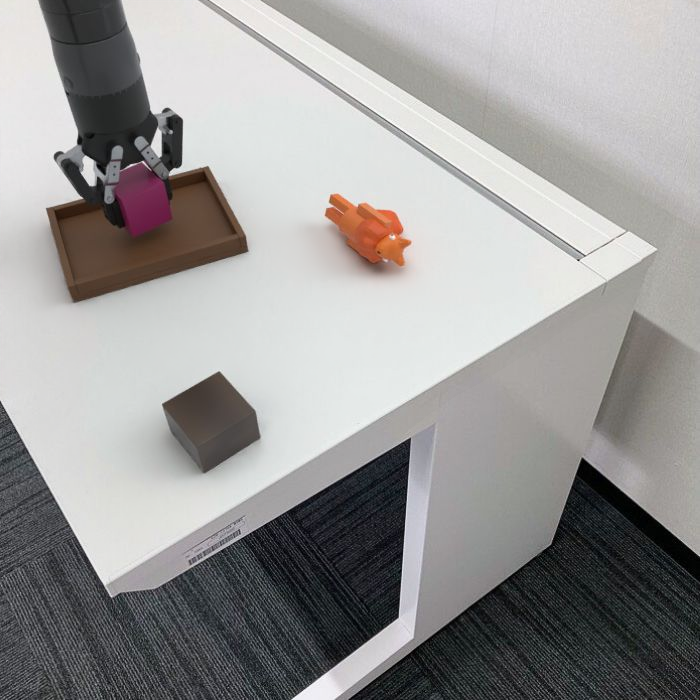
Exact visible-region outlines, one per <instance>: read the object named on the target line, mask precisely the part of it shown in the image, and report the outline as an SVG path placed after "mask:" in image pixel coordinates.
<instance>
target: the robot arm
mask: <svg viewBox="0 0 700 700" xmlns="http://www.w3.org/2000/svg"><path fill="white" fill-rule="evenodd" d="M37 2H38V4H39V8H40V11H41V14H42V17H43V21H44V24H45V27H46V29H47V32H48V36H49V40H50V45H51V50H52V56H53V60H54V63H55V66H56V70H57V72H58V76H59V78H60V81H61V84H62V87H63V90H64V94H65V97H66V99H67V102H68V105H69V108H70V112H71V115H72V118H73V121H74V125H75V126H76V127H75V128H76V129H77V138H76V145H74V146H73V147H72V148H70V149H69V150H67V151H66V152H64V151H61V150H58V151H56V152H55V153H54V154H53V160H54V161H55V163H56V164H57V166H58V167H59V169H60V170H61V172H62V173H63V174H64V176H65V177H66V179H67V180H68V182H69V183H70V185H71V186H72V187H73V189H74V190H75V191H76V194H77V195H79V197H81V199H84V200H85V201H86V203H87V204H88V205H90V206H94V205H96V204H97V203H99V202H100V203H101V206H102V209H103V212H104V215H105V218H106V219H107V220H108V221H109V222H110V223H111V224H112V225H113V226H115V225H116V226H117V227H118V228H119V229H120V228H123V227H125V222H124V219H123V216H122V213H121V209H120V206H119V203H118V200H117V199H116V198H115V193H116V184H118V183H119V175H120V171H122V170H124V169H127V168H129V167H130V166H132V165H136V164H138V163H141V162H142V163H144V165H145V166H147V167H148V168H149V169H150V170H151V171H152V172H153V173H154V174H155V175H156V176H157V177H158V178H159V179H161V180H162V181H163V182H164V185H165V189H166V193H167V197H168V201H169V205H170V200H172V196H173V194H172V190H171V186H170V182H169V178H168V176H170V173H171V171H172V170H174V169H180V168H181V167H182V165H183V148H184V147H183V146H184V145H183V143H184V118H182V117H181V116H180V115H179V114H178V113H176V112H175V111H174V110H173V109H171V108H170V107H164V108H163V109H162V110H161V113H153V112H152V110H151V104H150V100H149V95H148V91H147V87H146V82H145V79H144V76H143V75H144V74H143V72H142V67H141V57H140V54H139V52H138V51H137V47H136V43H135V39H134V37H133V33H132V32H131V30H130V27H129V24H128V21H127V17H126V12H125V9H124V5H123V1H122V0H37ZM158 130H159V131H160V132H161V156H158V155H157V153H156V152H155V150H154V149H153V148H152V147H151V146H152V144H153V141H154V138H155V136H156V133H157V131H158ZM85 157H87V158H88V159H91V160H92V161H93V166H92V167H93V168H92V169H93V173H94V183H93V184H94V185H90V184H89V183H88V181H87V180H86V178H85V177H84V176H83V174H82V172H84V162H83V161H84V158H85Z"/></svg>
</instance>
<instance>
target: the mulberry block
mask: <svg viewBox="0 0 700 700" xmlns="http://www.w3.org/2000/svg"><path fill="white" fill-rule="evenodd" d="M115 198H116V199H117V200H118V203H119V206H120V209H121V213H122V216H123V219H124V222H125V227H124V228H125V229H126V230H127V231H128V233H129V234H130V235H131V236H132V237H133V238H134V237H136V236H138V235H140V234H142V233H144V232H147V231H149V230H151V229H153V228H155V227H157V226H159V225H162V224H164V223H166V222H168V221H170V220H172V219H173V217H172V213H171V209H170V205H169V201H168V197H167V193H166V189H165V185H164V182H163V181H162V180H161V179H159V178H158V177H157V176H156V175H155V174H154V173H153V172H152V171H151V170H150V169H149V167H148V166H147V165H146V164H145V163H144V162H143V161H142V162H140V163H136V164H133V165H130V166H128V167H126V168H125V169H123V170H121V171H120V175H119V183H118V184H116V193H115Z"/></svg>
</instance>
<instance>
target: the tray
mask: <svg viewBox="0 0 700 700" xmlns="http://www.w3.org/2000/svg"><path fill="white" fill-rule="evenodd" d="M168 178H169V182H170V186H171V190H172V194H173V196H172V200H170V209H171V213H172V217H173V219H172V220H170V221H168V222H166V223H164V224H162V225H159V226H157V227H155V228H153V229H151V230H149V231H147V232H144V233H142V234H140V235H138V236H136V237H134V238H133V237H132V236H131V235H130V234H129V233H128V231H127V230H126V229H125V228H124V227H123V228H120V229H119V228H118V227H117V226H116V225H115V226H113V225H112V224H111V223H110V222H109V221H108V220H107V219H106V218H105V215H104V212H103V209H102V206H101V203H100V202H99V203H97V204H96V205H94V206H90V205H88V204H87V203H86V201H85V200H84V199H83V198H81V199H76V200H73V201H67V202H65V203H61V204H57V205H54V206H50V207H46V208H45V210H46V214H47V217H48V221H49V224H50V229H51V233H52V236H53V240H54V243H55V247H56V250H57V254H58V257H59V258H58V259H59V261H60V266H61V268H62V272H63V276H64V280H65V283H66V287H67V290H68V292H69V294H70V297H71V300H72V302H73V303H74V304H75V303H77V302H82V301H85V300H88V299H92V298H95V297H98V296H101V295H104V294H108V293H111V292H115V291H118V290H122V289H125V288H128V287H132V286H135V285H136V286H137V285H139V284H142V283H146V282H149V281H153V280H155V279H158V278H162V277H166V276H169V275H173V274H176V273H179V272H183V271H186V270H189V269H194V268H196V267H199V266H203V265H207V264H210V263H214V262H217V261H220V260H224V259H227V258H230V257H233V256H234V257H235V256H237V255H241V254H243V253H247V252H249V245H248V240H247V236H246V234H245V231H244V229H243V228H242V226H241V224H240V222H239V220H238V219H237V216H236V215H235V213H234V211H233V210H232V207H231V206H230V203H229V201H228V200H227V198H226V196H225V194H224V192H223V190H222V188H221V187H220V185H219V183H218V181H217V179H216V177H215V176H214V173H213V171H212V170H211V168H210V166H209V165H206V166H203V167H198V168H195V169H191V170H186V171H183V172H180V173H175V174H172V175H169V176H168Z"/></svg>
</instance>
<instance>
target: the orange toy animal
mask: <svg viewBox="0 0 700 700" xmlns="http://www.w3.org/2000/svg"><path fill="white" fill-rule="evenodd" d="M328 203H329V204H330V205H331V207H326V209H325V213H324V217H326V219H328V220H330V222H332V223H333V224H335V225H336V226H337V227H338V229H339V232H340V233H341V234H342V235H344V236H345V237H346V238H348V239H347V242H346V244H347V245H348V246H349V247H351V248H352V249H353V250H354V251H356V252H357V253H358V255H360V256H362V257H363V258H364V259H366V260H368V261H369V262H370V263H371V264H375V263H380V261H381V260H382V261H383V263H388V262H389V261H393V262H394V263H395V264H396V265H397V266H399V267H404V266H405V264H406V261H405V257H404V251H405V249H406V248H408V247H409V246H410V245H412V240H411V239H407V238H403V237H402V236H400V235H402V234H403V233H404V226H403V224H402V223H401V221H400V218H399V217H398V215H397V213H396V212H395V211H393V210H391V209H381V208H379V209H375V207H373V206H371V205H370V204H368V203H367V202H363V203H358V205H357V206H356V205H354V204H353V203H352V202H350V201H349V200H348V199H346V198H345V197H343V196H342V195H341V194H339V193H331V194H330V195H329V199H328Z"/></svg>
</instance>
